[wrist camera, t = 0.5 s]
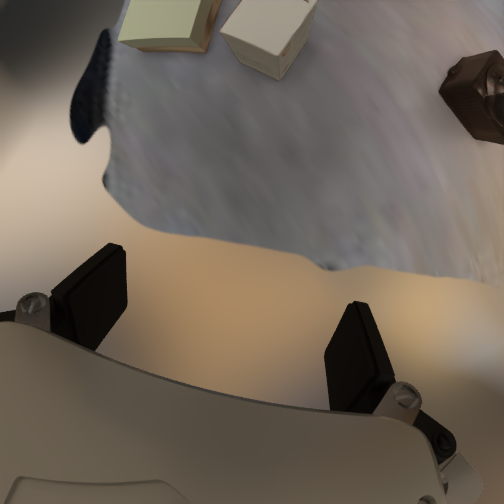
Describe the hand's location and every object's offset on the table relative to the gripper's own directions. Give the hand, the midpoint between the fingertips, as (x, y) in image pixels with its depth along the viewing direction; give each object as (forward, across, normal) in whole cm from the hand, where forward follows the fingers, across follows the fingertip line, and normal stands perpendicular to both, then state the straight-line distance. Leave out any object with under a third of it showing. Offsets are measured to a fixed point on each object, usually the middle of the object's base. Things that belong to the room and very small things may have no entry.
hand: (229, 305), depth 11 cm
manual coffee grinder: (+30, -27, -21) cm, 45 cm away
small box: (+30, +3, -18) cm, 35 cm away
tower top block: (+26, +17, -21) cm, 38 cm away
